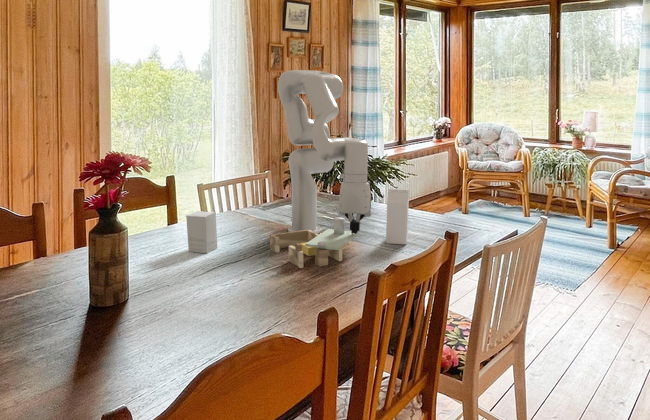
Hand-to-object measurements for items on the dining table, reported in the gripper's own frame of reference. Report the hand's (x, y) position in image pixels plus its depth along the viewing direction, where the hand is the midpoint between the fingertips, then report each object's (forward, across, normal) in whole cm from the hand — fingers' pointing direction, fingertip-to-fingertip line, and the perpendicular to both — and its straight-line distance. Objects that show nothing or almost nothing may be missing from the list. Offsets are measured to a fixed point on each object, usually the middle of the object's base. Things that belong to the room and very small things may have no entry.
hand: (354, 232), depth 183 cm
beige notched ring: (+7, -15, -8) cm, 18 cm away
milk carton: (+7, +12, +17) cm, 22 cm away
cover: (+1, -6, -6) cm, 9 cm away
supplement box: (+7, -50, -12) cm, 52 cm away
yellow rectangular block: (+7, -14, -5) cm, 17 cm away
